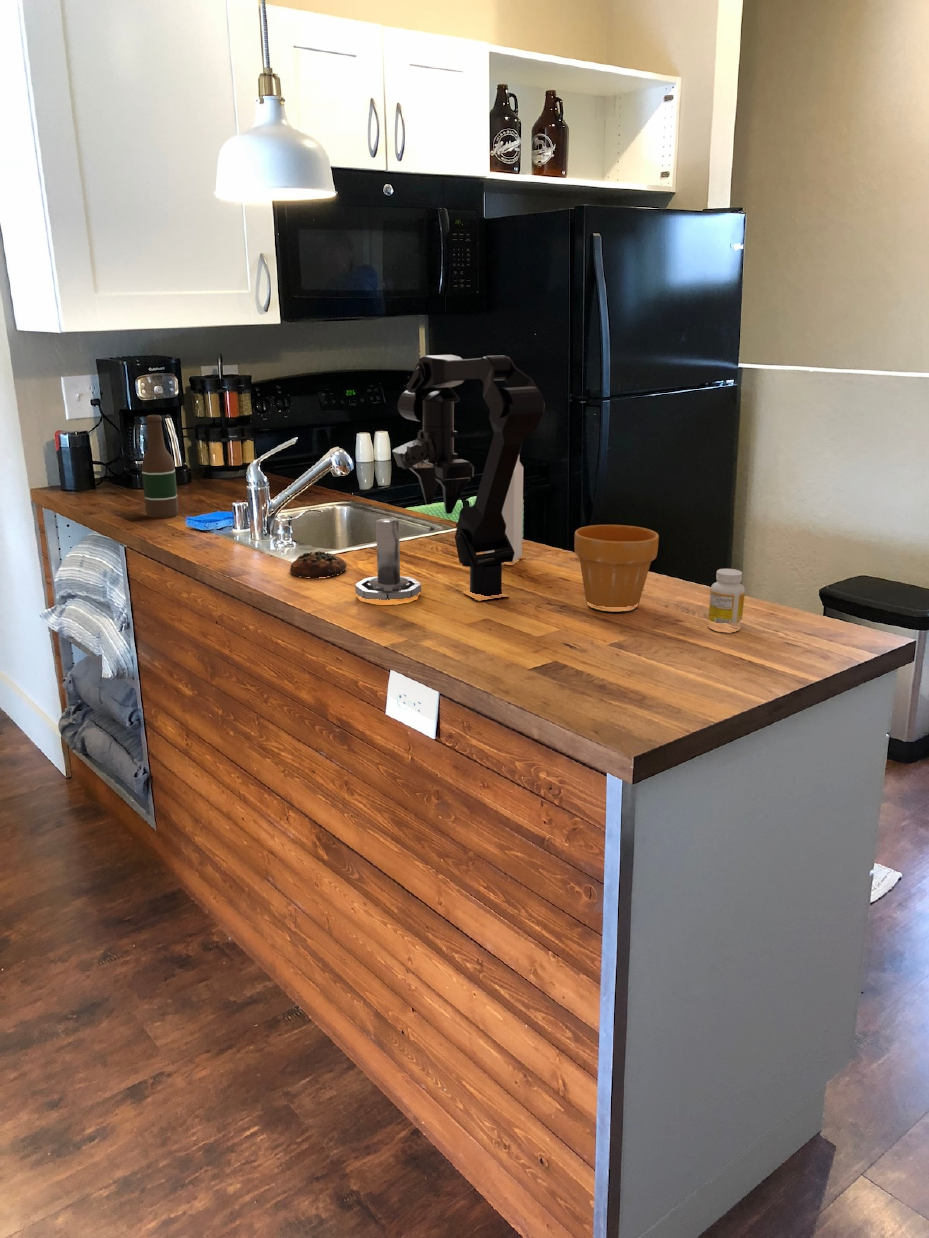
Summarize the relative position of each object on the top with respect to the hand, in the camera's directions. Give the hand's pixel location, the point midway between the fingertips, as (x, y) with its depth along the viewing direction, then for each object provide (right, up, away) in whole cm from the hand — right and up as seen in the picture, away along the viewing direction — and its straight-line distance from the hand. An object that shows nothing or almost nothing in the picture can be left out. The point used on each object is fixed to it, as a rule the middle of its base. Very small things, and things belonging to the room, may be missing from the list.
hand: (438, 508), depth 190 cm
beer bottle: (-69, +4, +55) cm, 88 cm away
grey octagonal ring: (-9, -17, -9) cm, 21 cm away
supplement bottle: (+47, -23, -26) cm, 59 cm away
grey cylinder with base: (-9, -16, -10) cm, 21 cm away
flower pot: (+31, -19, -15) cm, 39 cm away
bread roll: (-24, -12, +7) cm, 27 cm away
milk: (+13, -9, +14) cm, 21 cm away
